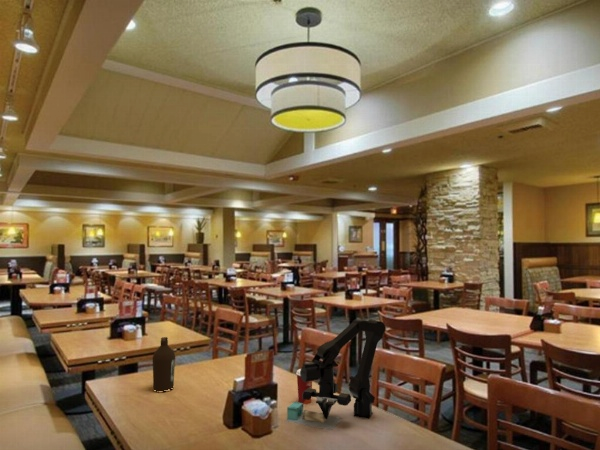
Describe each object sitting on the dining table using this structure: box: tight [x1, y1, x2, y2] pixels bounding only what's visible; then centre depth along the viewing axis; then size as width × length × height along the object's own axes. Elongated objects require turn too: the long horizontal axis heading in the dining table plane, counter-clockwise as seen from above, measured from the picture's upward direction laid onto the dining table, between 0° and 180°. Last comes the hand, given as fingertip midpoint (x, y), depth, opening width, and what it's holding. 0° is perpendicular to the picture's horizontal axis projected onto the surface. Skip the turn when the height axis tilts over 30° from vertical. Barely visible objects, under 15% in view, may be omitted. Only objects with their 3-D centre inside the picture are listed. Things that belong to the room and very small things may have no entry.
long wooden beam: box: [302, 409, 326, 423], centre depth 168 cm, size 9×3×3 cm, turn 66°
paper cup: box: [296, 368, 313, 405], centre depth 188 cm, size 8×8×14 cm
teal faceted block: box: [286, 401, 304, 420], centre depth 171 cm, size 4×7×4 cm, turn 156°
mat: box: [284, 415, 343, 431], centre depth 168 cm, size 20×12×1 cm, turn 66°
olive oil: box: [152, 336, 176, 391], centre depth 206 cm, size 11×11×25 cm
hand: (326, 418), depth 166 cm, fingers closed
